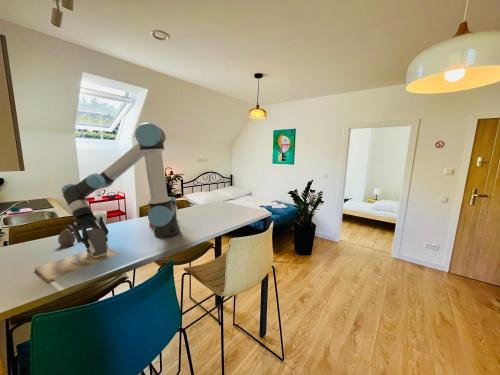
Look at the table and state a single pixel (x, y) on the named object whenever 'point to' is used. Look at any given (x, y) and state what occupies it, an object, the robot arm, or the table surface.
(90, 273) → the table surface
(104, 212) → the foam cup
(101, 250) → the block
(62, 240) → the vase
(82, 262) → the board
